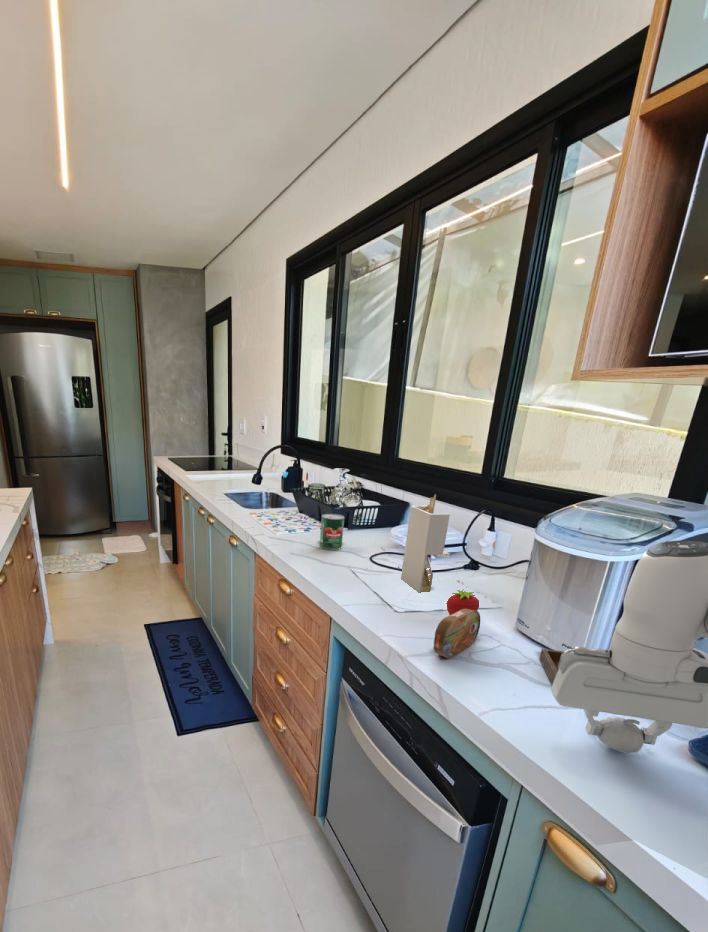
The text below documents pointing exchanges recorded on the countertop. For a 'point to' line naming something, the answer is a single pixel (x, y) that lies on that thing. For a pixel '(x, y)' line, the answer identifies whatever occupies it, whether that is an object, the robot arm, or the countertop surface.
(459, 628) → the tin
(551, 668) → the tray
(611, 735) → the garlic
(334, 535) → the canned tomato
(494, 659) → the countertop surface
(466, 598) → the strawberry
